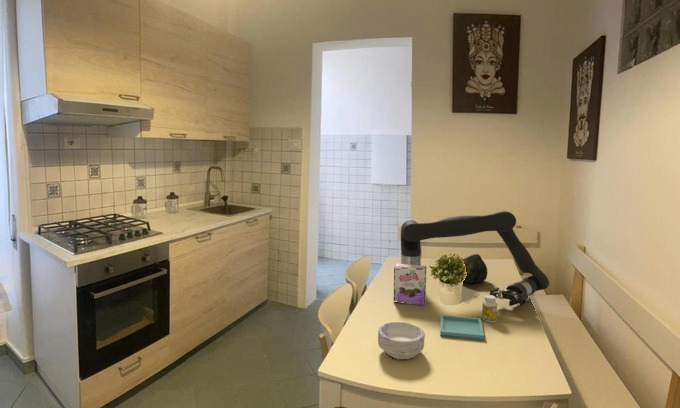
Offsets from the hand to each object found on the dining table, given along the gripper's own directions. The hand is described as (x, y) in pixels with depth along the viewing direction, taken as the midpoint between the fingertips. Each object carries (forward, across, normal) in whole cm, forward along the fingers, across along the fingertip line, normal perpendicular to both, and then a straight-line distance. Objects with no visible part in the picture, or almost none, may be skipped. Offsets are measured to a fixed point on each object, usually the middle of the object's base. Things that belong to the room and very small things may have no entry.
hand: (499, 300), depth 165 cm
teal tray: (+23, -3, +6) cm, 24 cm away
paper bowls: (+54, -6, +6) cm, 54 cm away
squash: (-28, -30, +6) cm, 42 cm away
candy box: (+16, -33, +6) cm, 37 cm away
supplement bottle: (+8, 0, +6) cm, 10 cm away
